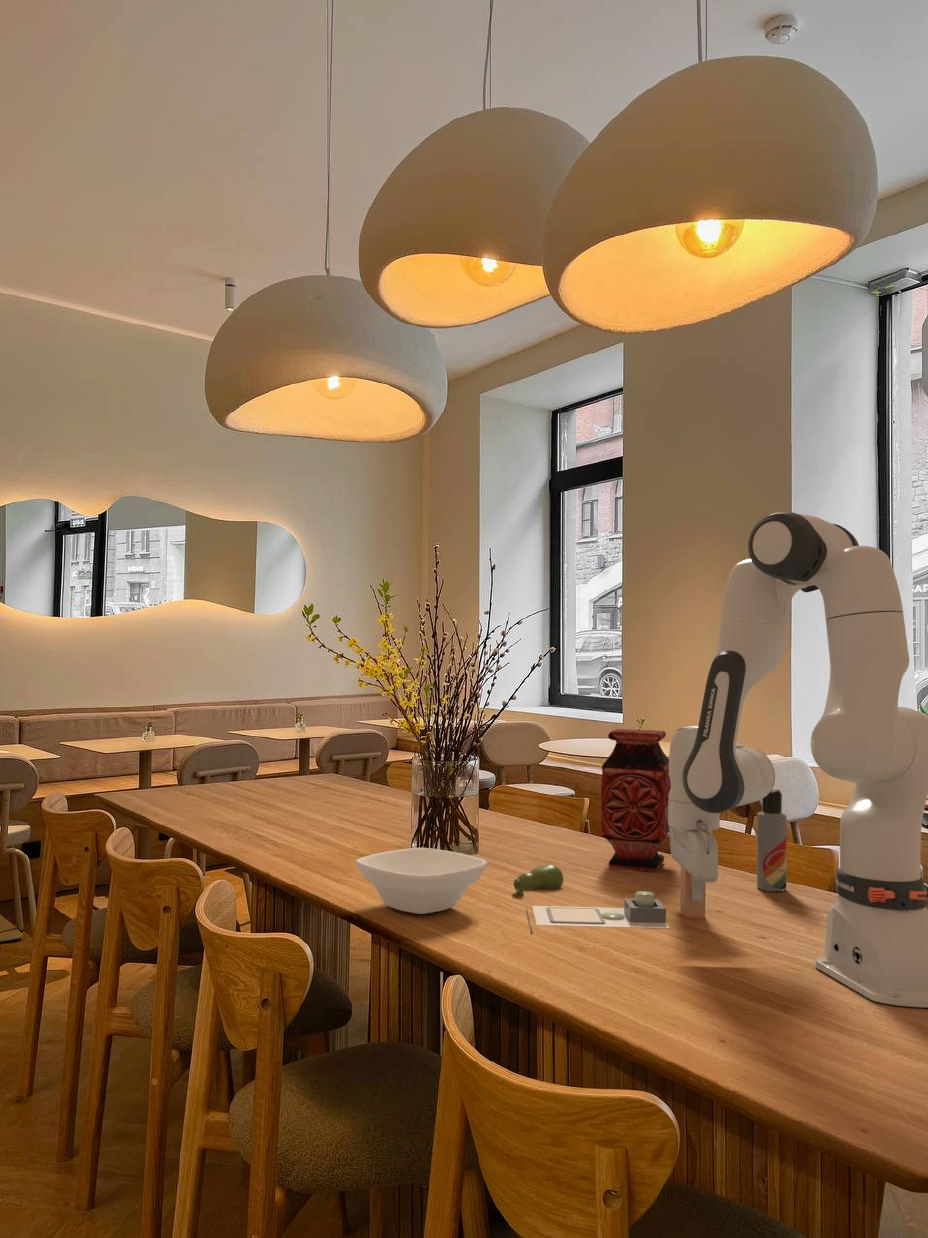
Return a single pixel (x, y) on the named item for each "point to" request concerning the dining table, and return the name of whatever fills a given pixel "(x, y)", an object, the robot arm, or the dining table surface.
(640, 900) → the button
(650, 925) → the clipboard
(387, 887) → the bowl
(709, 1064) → the dining table surface
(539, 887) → the pear
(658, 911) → the button housing
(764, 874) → the lotion bottle
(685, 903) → the terracotta rectangular block
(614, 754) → the vase
